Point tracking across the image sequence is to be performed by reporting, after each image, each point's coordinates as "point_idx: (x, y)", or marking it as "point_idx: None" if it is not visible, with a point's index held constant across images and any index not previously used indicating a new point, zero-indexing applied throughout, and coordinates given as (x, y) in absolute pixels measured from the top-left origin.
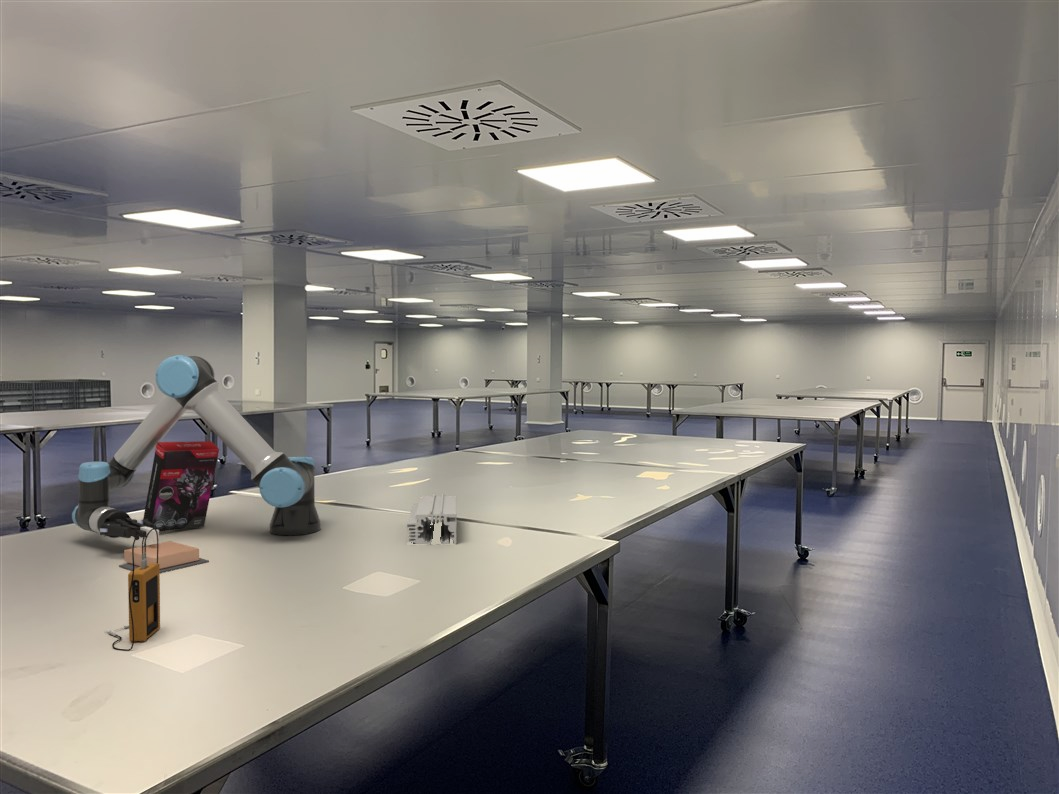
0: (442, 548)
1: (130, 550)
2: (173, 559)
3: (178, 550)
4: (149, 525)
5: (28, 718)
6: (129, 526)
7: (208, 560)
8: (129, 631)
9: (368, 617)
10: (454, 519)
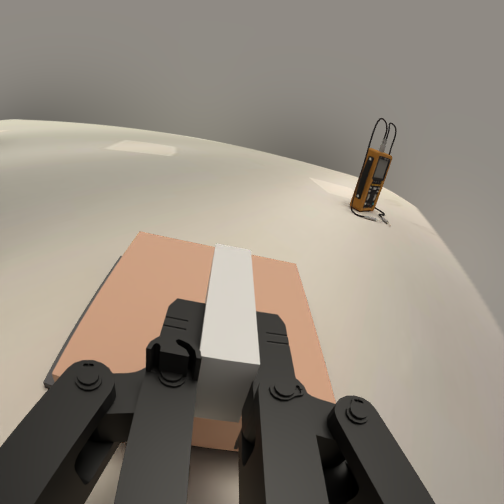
0: (10, 140)
1: (320, 392)
2: None
3: (189, 257)
4: (111, 394)
5: (415, 211)
6: (323, 491)
7: (121, 256)
8: (376, 202)
9: (222, 151)
10: None
